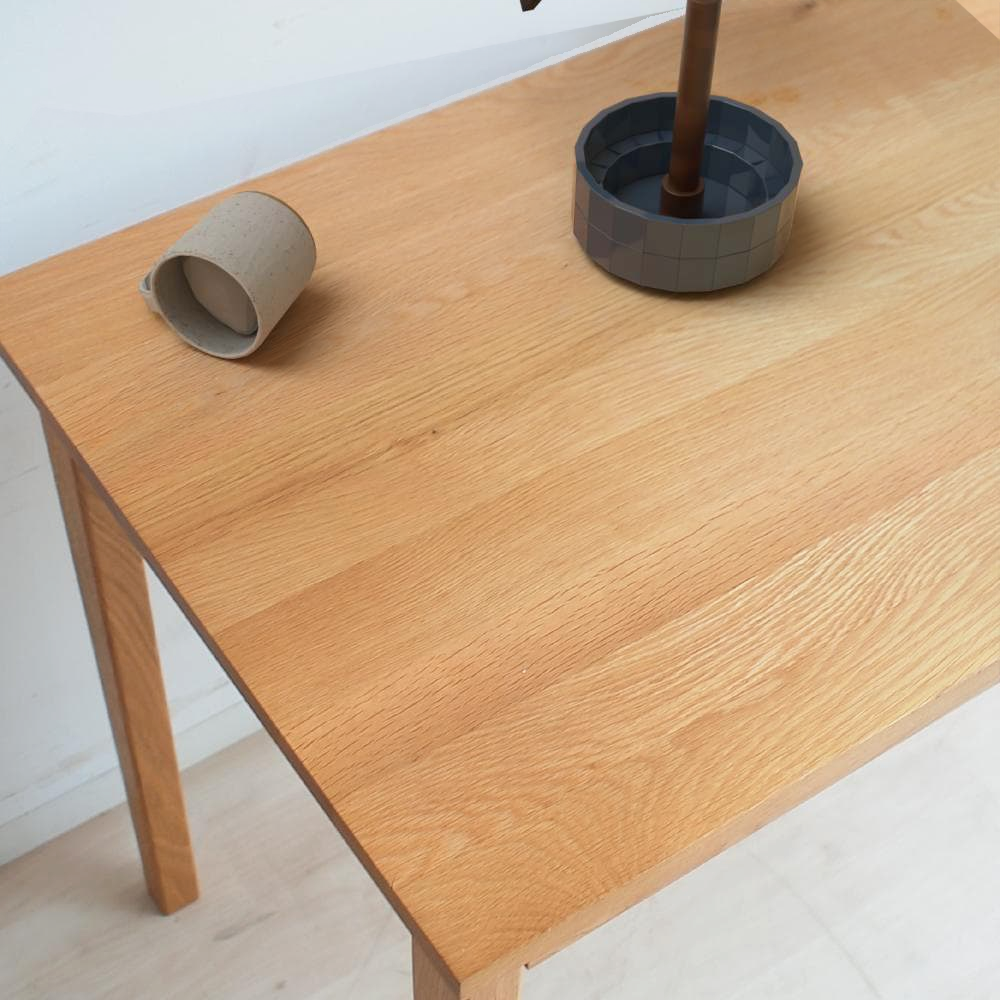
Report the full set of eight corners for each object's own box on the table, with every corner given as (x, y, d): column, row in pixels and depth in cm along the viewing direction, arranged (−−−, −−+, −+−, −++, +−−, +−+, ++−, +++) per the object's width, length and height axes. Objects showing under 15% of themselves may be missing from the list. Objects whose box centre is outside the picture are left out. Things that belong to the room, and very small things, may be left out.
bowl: (729, 150, 101) (739, 74, 97) (826, 272, 92) (843, 195, 88) (540, 192, 98) (542, 115, 94) (622, 322, 89) (628, 245, 85)
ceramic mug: (330, 290, 91) (317, 189, 85) (270, 373, 86) (251, 271, 80) (184, 254, 94) (161, 153, 88) (117, 332, 89) (88, 231, 83)
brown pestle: (689, 203, 96) (716, -22, 84) (707, 228, 94) (737, 2, 82) (651, 212, 95) (672, -13, 83) (668, 237, 94) (693, 10, 82)
